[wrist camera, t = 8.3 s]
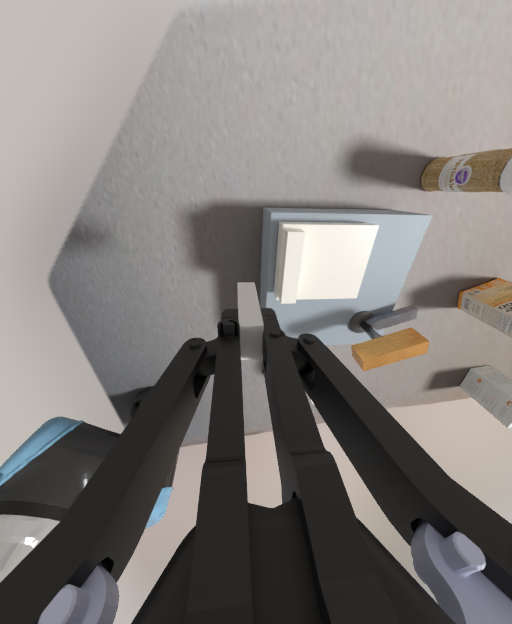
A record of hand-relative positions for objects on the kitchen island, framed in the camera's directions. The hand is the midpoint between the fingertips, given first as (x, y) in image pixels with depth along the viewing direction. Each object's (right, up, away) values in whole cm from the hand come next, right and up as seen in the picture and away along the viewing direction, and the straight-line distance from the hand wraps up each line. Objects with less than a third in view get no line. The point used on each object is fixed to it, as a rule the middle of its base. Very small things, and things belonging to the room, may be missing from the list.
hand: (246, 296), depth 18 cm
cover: (+10, +6, +11) cm, 16 cm away
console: (+13, +6, +21) cm, 25 cm away
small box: (+66, -20, +43) cm, 81 cm away
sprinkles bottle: (+29, +20, +14) cm, 38 cm away
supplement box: (+49, +3, +27) cm, 56 cm away
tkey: (+21, -3, +17) cm, 27 cm away
